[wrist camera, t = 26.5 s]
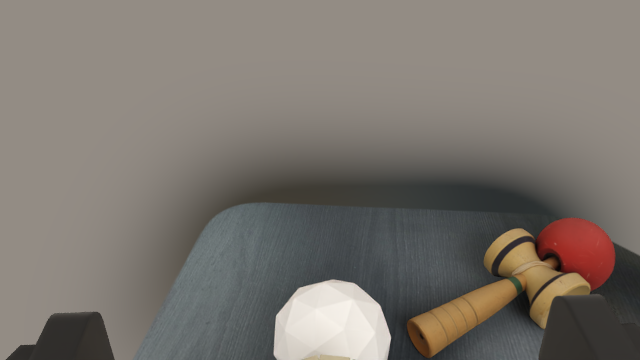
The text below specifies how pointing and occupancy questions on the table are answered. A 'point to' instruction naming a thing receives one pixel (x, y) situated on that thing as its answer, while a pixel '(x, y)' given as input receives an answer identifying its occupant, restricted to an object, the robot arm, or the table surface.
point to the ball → (331, 324)
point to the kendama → (522, 279)
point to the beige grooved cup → (327, 357)
